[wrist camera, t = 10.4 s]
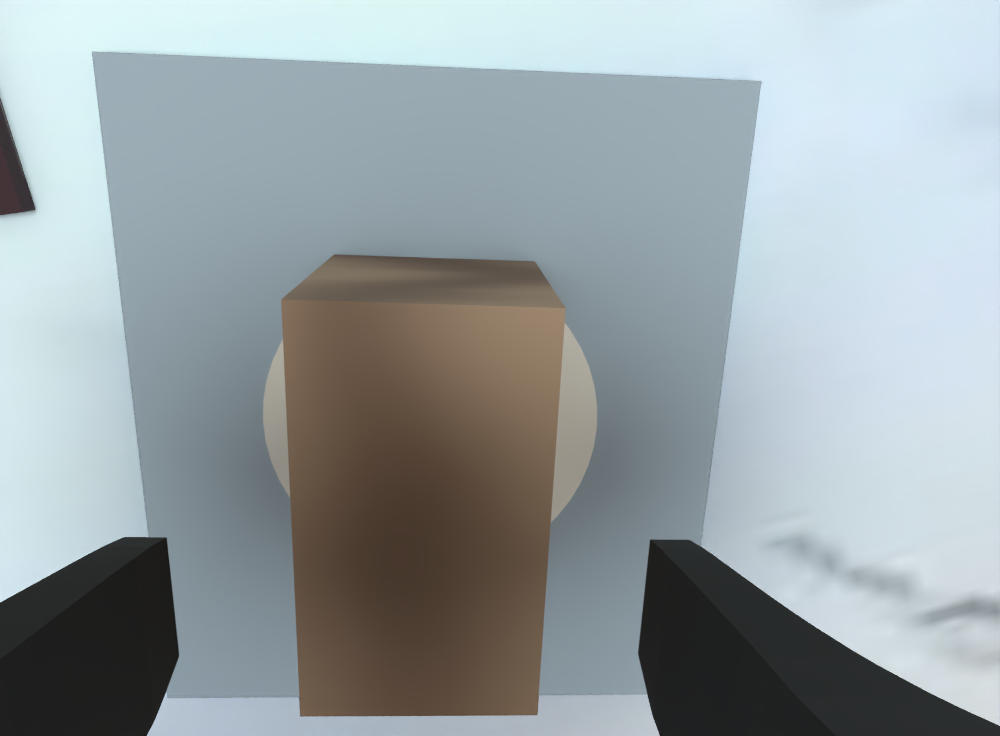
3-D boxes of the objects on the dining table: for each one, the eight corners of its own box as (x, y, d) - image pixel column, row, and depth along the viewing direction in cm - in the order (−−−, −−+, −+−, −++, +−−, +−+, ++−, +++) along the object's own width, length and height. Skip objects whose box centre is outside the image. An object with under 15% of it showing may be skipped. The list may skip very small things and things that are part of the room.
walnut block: (534, 261, 16) (565, 308, 12) (517, 570, 19) (537, 715, 14) (333, 254, 16) (280, 299, 11) (341, 568, 18) (300, 715, 14)
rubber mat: (676, 681, 21) (682, 696, 20) (174, 684, 20) (166, 700, 19) (752, 82, 16) (762, 80, 16) (103, 54, 15) (89, 51, 15)
